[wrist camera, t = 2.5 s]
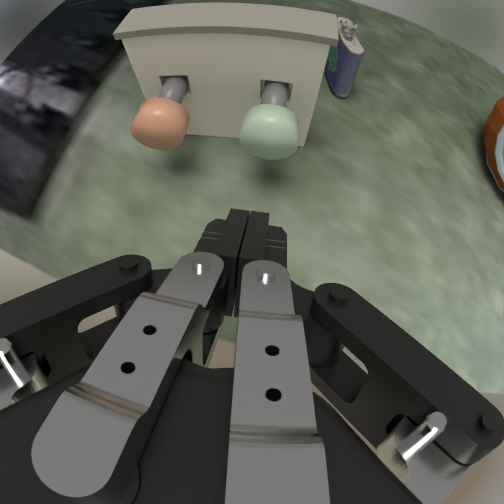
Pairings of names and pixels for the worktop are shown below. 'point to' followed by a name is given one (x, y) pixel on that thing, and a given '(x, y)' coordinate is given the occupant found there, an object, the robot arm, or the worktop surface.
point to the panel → (230, 58)
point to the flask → (343, 59)
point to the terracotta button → (163, 116)
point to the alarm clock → (496, 143)
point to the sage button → (270, 125)
